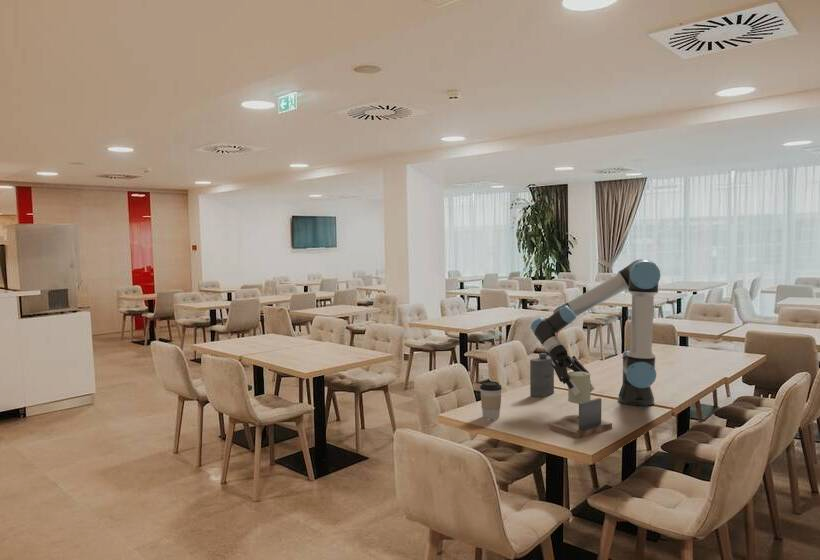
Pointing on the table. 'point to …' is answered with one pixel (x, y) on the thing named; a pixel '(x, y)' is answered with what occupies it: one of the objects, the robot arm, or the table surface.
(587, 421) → the bookend
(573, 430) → the shelf board
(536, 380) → the flask
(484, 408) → the coffee cup
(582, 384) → the can
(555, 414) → the table surface
